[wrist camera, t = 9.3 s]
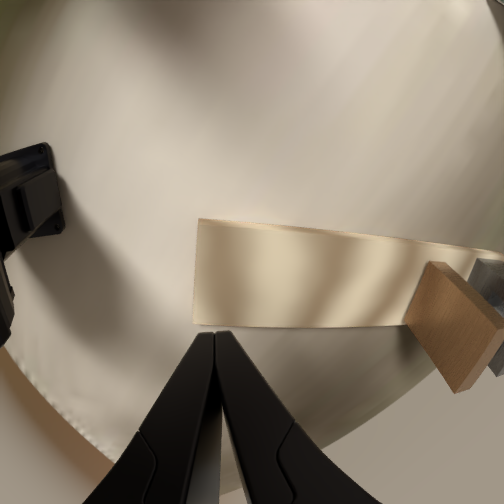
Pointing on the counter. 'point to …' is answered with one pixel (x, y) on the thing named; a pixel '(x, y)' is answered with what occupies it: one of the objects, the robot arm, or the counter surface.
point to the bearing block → (490, 296)
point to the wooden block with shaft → (455, 325)
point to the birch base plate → (311, 275)
